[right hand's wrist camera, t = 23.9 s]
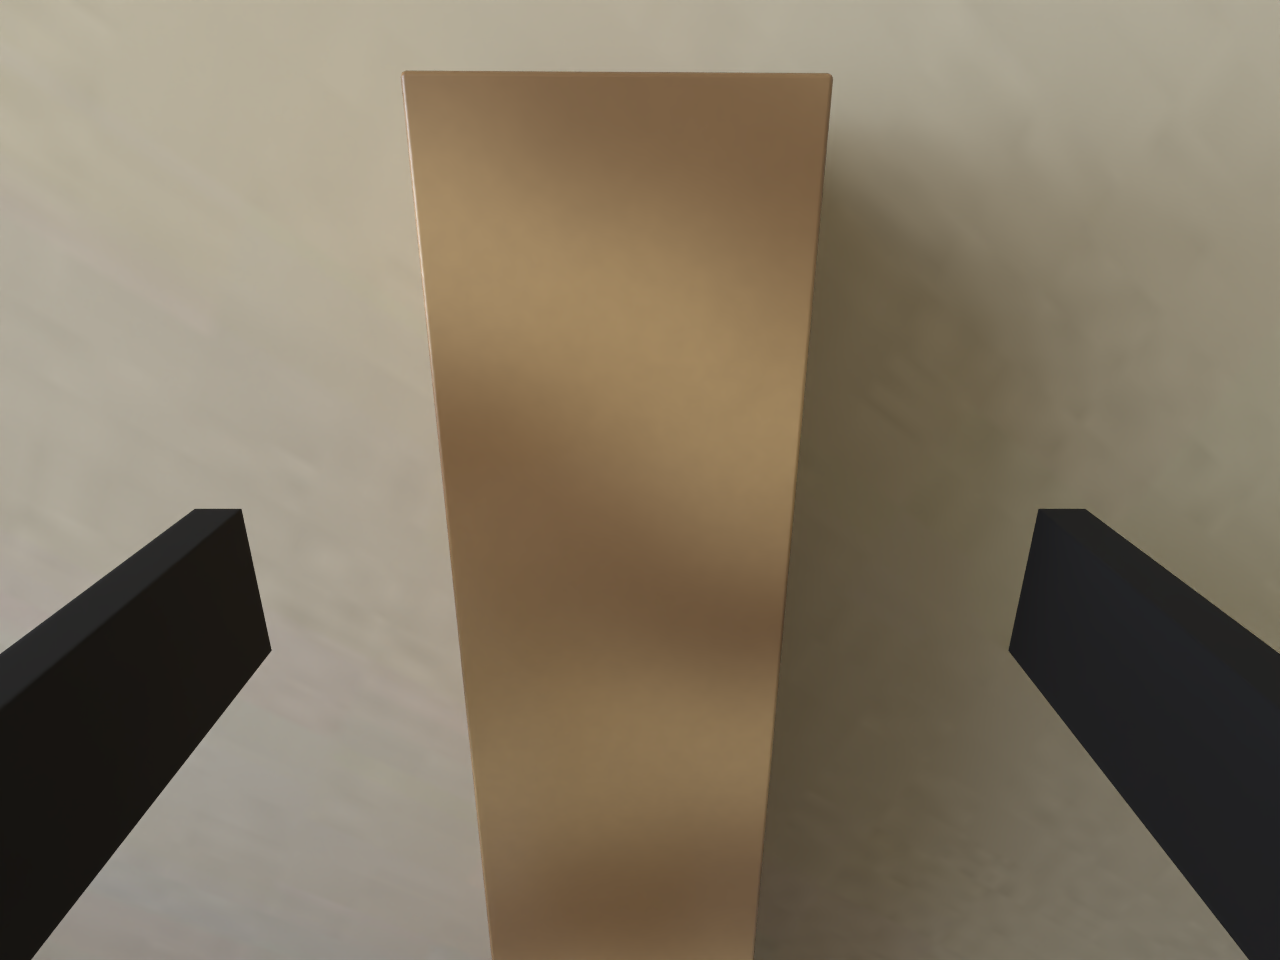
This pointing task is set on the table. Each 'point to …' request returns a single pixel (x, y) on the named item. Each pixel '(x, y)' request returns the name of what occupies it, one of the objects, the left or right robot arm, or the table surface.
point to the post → (619, 479)
